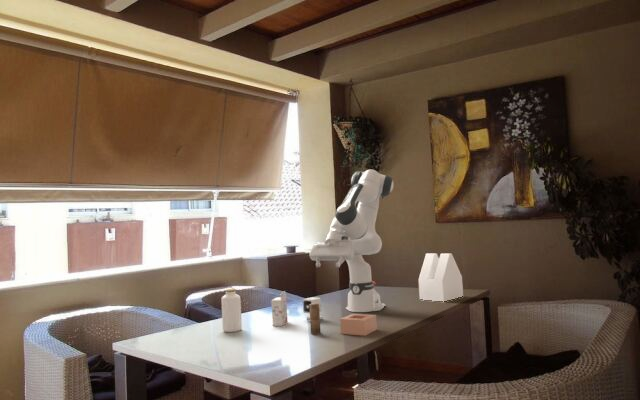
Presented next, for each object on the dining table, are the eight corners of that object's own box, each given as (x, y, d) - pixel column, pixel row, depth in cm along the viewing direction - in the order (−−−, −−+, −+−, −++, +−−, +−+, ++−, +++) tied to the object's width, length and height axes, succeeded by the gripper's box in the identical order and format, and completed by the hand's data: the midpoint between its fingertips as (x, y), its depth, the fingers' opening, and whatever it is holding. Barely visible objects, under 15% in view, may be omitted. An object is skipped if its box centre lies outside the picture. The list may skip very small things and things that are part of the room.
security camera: (303, 320, 231) (302, 299, 231) (313, 317, 236) (312, 296, 236) (313, 321, 226) (312, 300, 227) (323, 319, 232) (322, 297, 232)
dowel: (314, 331, 205) (312, 303, 206) (322, 332, 203) (320, 303, 204) (309, 334, 202) (307, 304, 202) (317, 334, 200) (315, 305, 200)
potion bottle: (234, 327, 222) (233, 287, 223) (245, 329, 216) (243, 289, 217) (219, 331, 216) (217, 290, 217) (229, 333, 211) (227, 291, 211)
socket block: (353, 327, 209) (352, 313, 209) (376, 329, 203) (376, 315, 203) (340, 333, 199) (340, 318, 199) (365, 335, 194) (364, 320, 194)
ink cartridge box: (277, 322, 230) (276, 290, 231) (287, 322, 229) (286, 290, 230) (272, 326, 221) (270, 293, 222) (282, 326, 220) (281, 293, 221)
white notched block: (443, 302, 258) (440, 255, 260) (419, 300, 270) (416, 254, 271) (463, 297, 271) (460, 252, 273) (439, 295, 283) (436, 252, 284)
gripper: (312, 238, 226) (303, 261, 217) (353, 237, 218) (346, 261, 208) (316, 247, 230) (308, 271, 220) (357, 246, 221) (351, 270, 212)
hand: (327, 266), depth 214 cm, fingers open, 8 cm apart
